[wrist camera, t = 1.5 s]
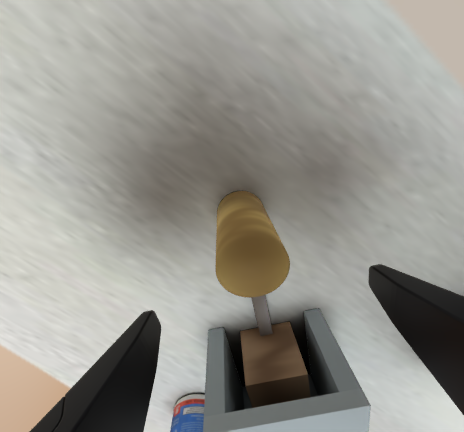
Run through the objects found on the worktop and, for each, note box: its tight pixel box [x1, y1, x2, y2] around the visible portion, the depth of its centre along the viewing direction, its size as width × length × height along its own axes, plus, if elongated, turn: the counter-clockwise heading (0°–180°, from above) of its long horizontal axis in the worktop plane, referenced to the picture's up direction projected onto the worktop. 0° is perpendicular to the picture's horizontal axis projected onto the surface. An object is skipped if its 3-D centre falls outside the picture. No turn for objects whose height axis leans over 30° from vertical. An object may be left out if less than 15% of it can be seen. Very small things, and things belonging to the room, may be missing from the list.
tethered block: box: [216, 191, 311, 408], centre depth 17 cm, size 5×19×7 cm, turn 12°
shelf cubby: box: [203, 308, 371, 432], centre depth 20 cm, size 11×12×8 cm
